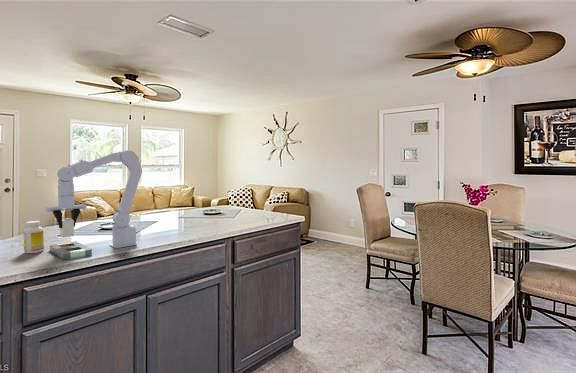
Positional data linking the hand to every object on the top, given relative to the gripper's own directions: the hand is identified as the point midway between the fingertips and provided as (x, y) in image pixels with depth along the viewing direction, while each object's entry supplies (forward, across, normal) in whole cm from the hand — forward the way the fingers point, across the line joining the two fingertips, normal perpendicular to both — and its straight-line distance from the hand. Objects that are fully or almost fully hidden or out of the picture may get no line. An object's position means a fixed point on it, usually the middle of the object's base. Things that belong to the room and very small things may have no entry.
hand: (67, 227), depth 141 cm
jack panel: (+10, 0, +4) cm, 11 cm away
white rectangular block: (+4, 0, 0) cm, 4 cm away
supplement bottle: (+11, +10, -8) cm, 17 cm away
